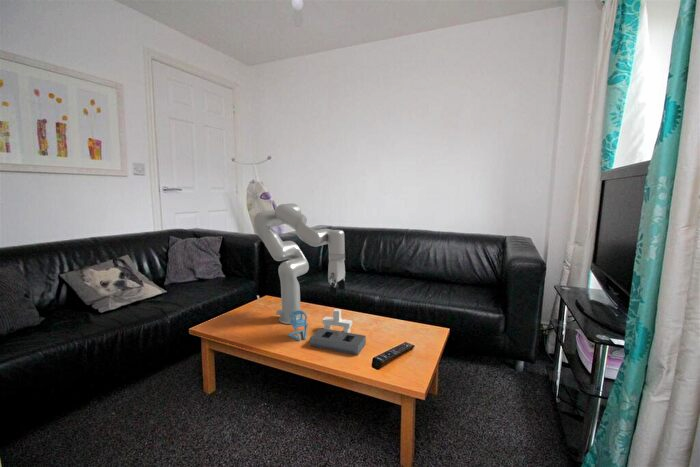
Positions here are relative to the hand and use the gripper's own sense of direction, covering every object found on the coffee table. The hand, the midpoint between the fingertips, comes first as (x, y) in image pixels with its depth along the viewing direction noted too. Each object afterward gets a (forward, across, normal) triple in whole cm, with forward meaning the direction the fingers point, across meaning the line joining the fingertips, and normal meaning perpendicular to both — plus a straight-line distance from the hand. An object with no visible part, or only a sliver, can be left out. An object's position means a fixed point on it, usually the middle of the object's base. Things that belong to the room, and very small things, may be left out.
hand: (337, 292), depth 151 cm
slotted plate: (+19, +13, +5) cm, 24 cm away
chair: (+19, +12, -15) cm, 27 cm away
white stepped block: (+19, 0, -1) cm, 19 cm away
